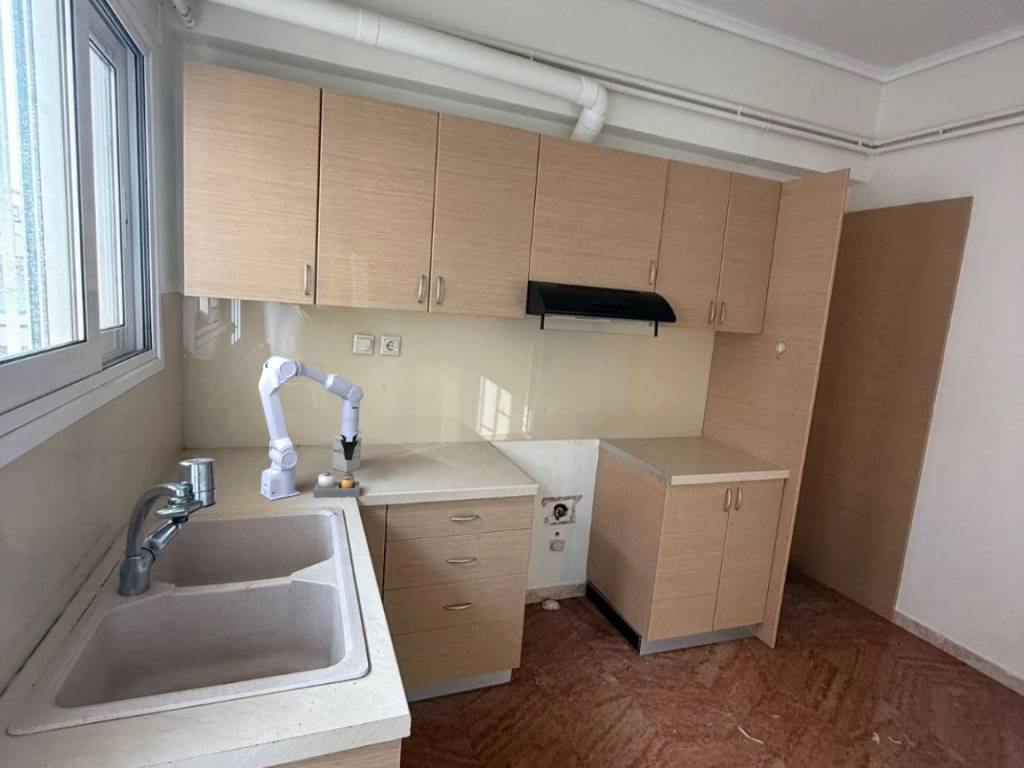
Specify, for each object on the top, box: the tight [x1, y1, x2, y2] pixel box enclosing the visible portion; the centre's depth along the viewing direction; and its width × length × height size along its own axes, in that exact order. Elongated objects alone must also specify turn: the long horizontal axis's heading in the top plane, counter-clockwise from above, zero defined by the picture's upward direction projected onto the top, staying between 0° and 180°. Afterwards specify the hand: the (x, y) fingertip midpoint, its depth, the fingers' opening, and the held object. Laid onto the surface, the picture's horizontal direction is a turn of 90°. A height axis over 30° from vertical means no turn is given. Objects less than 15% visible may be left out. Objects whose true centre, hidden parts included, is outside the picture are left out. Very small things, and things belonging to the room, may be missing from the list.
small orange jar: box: [340, 473, 355, 488], centre depth 171 cm, size 4×4×6 cm
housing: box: [313, 471, 360, 498], centre depth 170 cm, size 14×8×7 cm, turn 107°
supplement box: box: [331, 434, 362, 474], centre depth 196 cm, size 7×7×13 cm
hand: (348, 456), depth 180 cm, fingers open, 7 cm apart
